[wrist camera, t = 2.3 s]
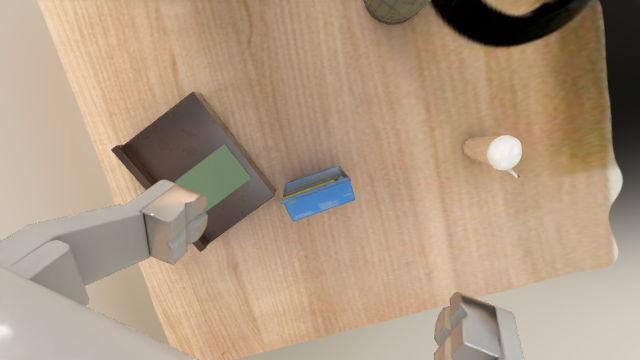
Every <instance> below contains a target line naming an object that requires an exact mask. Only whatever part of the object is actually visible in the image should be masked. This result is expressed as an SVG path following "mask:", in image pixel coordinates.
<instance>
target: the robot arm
mask: <svg viewBox="0 0 640 360" xmlns="http://www.w3.org/2000/svg"><path fill="white" fill-rule="evenodd" d="M207 205H208V204H207V197H206V196H205V195H203V194H200V193H198V192H196V191H193V190H191V189H188V188H186V187H183V186H181V185H179V184H175V183H173V182H171V181H168V180H166V179H165V180H160V181H159V182H157V183H156V184H154V185H153V186H151V187H150V188H149V189H147V190H146V191H144V192H143V193H142V194H140V195H139V196H137V197H136V198H134V199H133V200H132V201H130V202H129V203H127V204H126V205H124V206H123V205H121V204H119V205H114V206H110V207H106V208H101V209H97V210H92V211H88V212H83V213H79V214H75V215H70V216H66V217H61V218H57V219H53V220H49V221H44V222H39V223H35V224H30V225H27V226H26V227H24V228H22V229H21V230H19V231H17V232H15V233H14V234H12V235H10V236H8V237H7V238H5V239H3V240H2V241H0V360H199V359H197V358H195V357H193V356H191V355H189V354H187V353H185V352H182V351H180V350H178V349H176V348H174V347H172V346H170V345H168V344H165V343H163V342H161V341H159V340H157V339H154V338H153V337H150V336H148V335H146V334H144V333H142V332H140V331H138V330H136V329H133V328H131V327H129V326H127V325H125V324H123V323H121V322H118V321H116V320H114V319H112V318H110V317H108V316H106V315H104V314H101V313H99V312H97V311H95V310H93V309H91V308H89V307H86V305H87V304H88V303H89V297H88V294H87V291H86V288H85V286H86V285H88V284H90V283H93V282H95V281H97V280H100V279H102V278H104V277H106V276H109V275H111V274H113V273H115V272H118V271H120V270H122V269H125V268H127V267H129V266H131V265H134V264H136V263H138V262H140V261H143V260H145V259H147V258H149V257H150V256H151V257H154V258H157V259H159V260H162V261H164V262H167V263H169V264H172V265H174V264H175V263H176V262H177V261H178V260H179V259H180V258H181V257H182V256H183V255H184V254H185V253H186V252H187V247H188V244H190V243H193V242H196V241H197V240H198V239H199V238H200V237H201V235H202V234H203V232H204V230H205V228H206V225H207V221H208V215H207V213H206V212H205V210H204V208H205V207H206V206H207ZM434 338H435V341H436V343H437V344H438V346H439V348H438V349H437V350H436V352H435V353H434V360H524V357H523V352H522V348H521V343H520V339H519V335H518V331H517V326H516V322H515V317H514V315H513V313H512V312H510V311H508V310H505V309H502V308H499V307H497V306H494V305H491V304H489V303H486V302H483V301H481V300H478V299H475V298H473V297H470V296H467V295H465V294H462V293H459V292H456V293H454V294H453V295H452V297H451V298H450V306H448V307H445V308H443V309H442V311H441V312H440V314H439V316H438V319H437V322H436V326H435V337H434Z"/></svg>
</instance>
